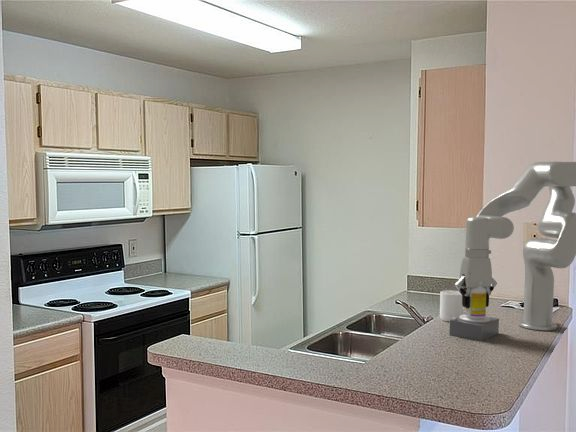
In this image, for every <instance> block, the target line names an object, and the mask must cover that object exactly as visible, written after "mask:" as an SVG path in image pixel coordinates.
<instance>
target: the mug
mask: <svg viewBox="0 0 576 432" xmlns="http://www.w3.org/2000/svg"><path fill="white" fill-rule="evenodd" d="M439 293H440V294H439V319H440V320H441V321H443V322H446V321H449V322H448V323H450V320H452V319H453V317H456V318H457V317H459V316H460V315H464V313H465V307H463V306H462V295H461V293H460V292H459V291H458V290H441V291H440V292H439Z"/></svg>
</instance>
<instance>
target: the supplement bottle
mask: <svg viewBox="0 0 576 432" xmlns="http://www.w3.org/2000/svg"><path fill="white" fill-rule="evenodd" d="M481 284H482V282H479V285H481ZM466 290H467V289H466ZM468 296H470V308H465V311H464V314H465V316H466V317H467V318H470V319H484V318H485V317H487V316H486V315H487V314H486V313H487V311H486V310H487V309H486V308H487V307H486V289H485V288H483V287H481V286H479V287H477V288H471V291H470V293H469V295H468Z"/></svg>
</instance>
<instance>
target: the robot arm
mask: <svg viewBox="0 0 576 432" xmlns="http://www.w3.org/2000/svg"><path fill="white" fill-rule="evenodd" d="M545 187H548V189H549V198H548V202H547V204H546V207H545V209H544V211H543V213H542V215H541V216H540V220H539V223H538V227H537V228H538V231H539V233H540V234H541V235H542V236H544V237H548V238H543V237H532V238H530V239H528V240H527V241H526V242H525V243H524V245H523V248H522V257H523V263H524V295H523V296H524V297H523V318H522V319H520V320H518V325H519V326H520V327H522V328H525V329H528V330H535V331H554V330H557V328H558V324H556V323H555V322H553V319H554V318H553V314H554V312H553V310H554V291H555V290H554V289H555V277H554V275H555V274H554V272H553V270H552V269H553V268H555V269H566V268H568V267H570V266H571V264H572V263H573V262H574V260H575V258H576V212H573V210H574V207H575V204H576V199H575V198H576V197H575V195H574V193H573V191H572V189H571V187H576V161H536V162H533V163H531V164H529V165H528V167H526V169H525V170H524V172H522V174H521V175H520V176H519V178H518V179H517V180H516V181H515V182H514V184H513V185H512V186H511V187H510V188H509V189H508V190H507V191H505V192H503V193H501V194H500V195H499V196H498V195H497V197H495V198H493V199H491V200H490V201H488V202H487V204H486V205H484V206H483V207H482V208H481V209H480V211H479V212H478V214H477V215H476V216H469V217H468V218H467V219H466V221H465V222H466V223H465V250H464V251H465V252H464V257H462V261H461V264H460V269H459V270H460V271H459V279H458V280H457V281H456V282H455V283H454V287H455V288H456V289H457V291H459V292H460V293H461V295H462V306H463V307H465V308H470V296H468V295H469V293H470V291H471V288H477V287H479V286H481V287H483V288H485V289H486V308H487V307H489V305H490V304H489V303H490V295H491V294H492V292H493V290H494V289H495V287H496V285H497V284H498V282H497V280H496V279H494V278H493V269H492V262H491V258H490V255H491V254H492V250H491V249H490V239H497V240H504V239H507V238H509V237H511V236H512V235H513V234H514V233H513V232H514V229H515V226H514V223H513V221H512V220H511V219H509V218H508V217H505V216H506V215H507V214H510V213H513V212H515V211H520V210H522V209H526V208H528V207H529V206H530V205H532V203H533V202H534V201H535V199H536V198H537V196H538V195H539V194H540V193H541V192H542V190H544V188H545ZM551 238H552V239H551ZM479 282H482V284H481V285H479ZM466 289H467V290H466Z"/></svg>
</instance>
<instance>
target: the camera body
mask: <svg viewBox="0 0 576 432" xmlns="http://www.w3.org/2000/svg"><path fill="white" fill-rule="evenodd" d="M499 322H500V318H497V317H492V316H486V317H485V318H484V319H470V318H467V317H466V316H465V313H463V315H460V316H459V317H457V318H456V317H453V319H452V320H450V322H449V336H454V337H458V338H463V339H468V340H473V341H478V342H483V341H484V340H487V339H490V338H491V337H493V336H495V335H496V336H497V335H498V334H499V329H500V327H499V325H500V323H499Z"/></svg>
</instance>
